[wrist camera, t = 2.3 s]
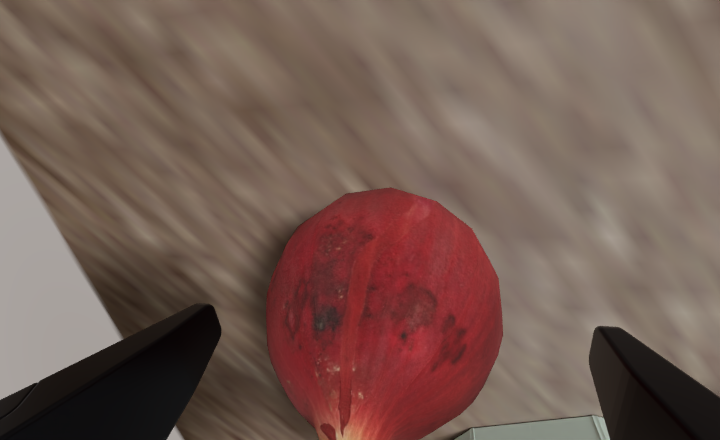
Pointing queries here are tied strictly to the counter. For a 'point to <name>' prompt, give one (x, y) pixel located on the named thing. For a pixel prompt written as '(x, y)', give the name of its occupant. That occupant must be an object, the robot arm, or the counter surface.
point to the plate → (544, 430)
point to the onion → (383, 317)
